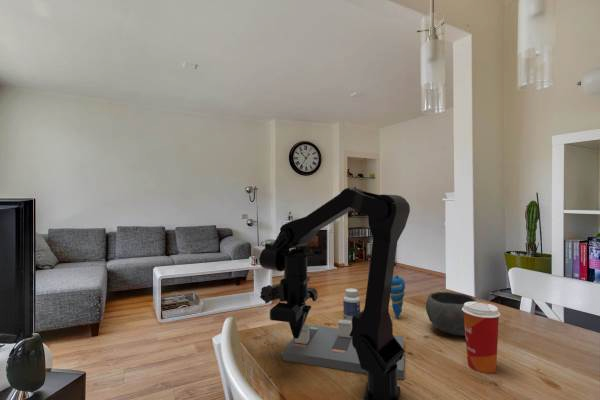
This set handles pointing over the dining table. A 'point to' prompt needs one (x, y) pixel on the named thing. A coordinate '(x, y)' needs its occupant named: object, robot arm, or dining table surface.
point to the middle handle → (345, 328)
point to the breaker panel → (331, 351)
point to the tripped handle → (303, 335)
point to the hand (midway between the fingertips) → (296, 337)
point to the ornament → (397, 294)
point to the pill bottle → (351, 304)
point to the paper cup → (481, 335)
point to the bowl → (448, 311)
